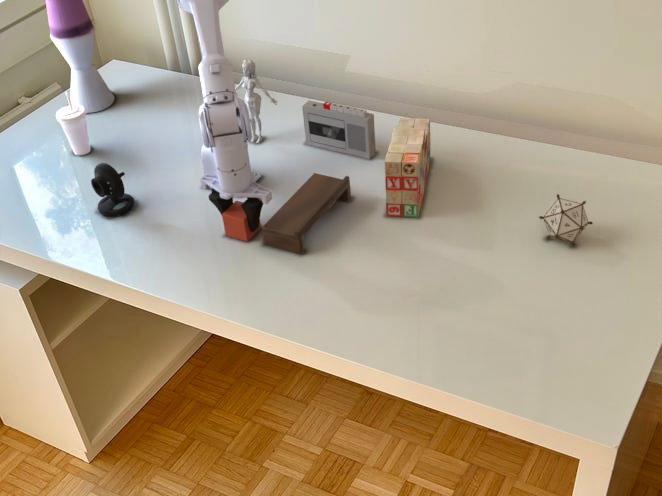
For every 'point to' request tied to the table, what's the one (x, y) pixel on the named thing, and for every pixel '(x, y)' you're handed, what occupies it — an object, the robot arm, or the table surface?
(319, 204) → the shelf
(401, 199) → the stack of blocks
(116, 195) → the webcam
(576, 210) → the game die
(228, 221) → the block
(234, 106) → the robot arm
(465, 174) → the table surface
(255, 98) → the human figurine
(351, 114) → the cassette player
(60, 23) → the lamp
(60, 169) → the table surface
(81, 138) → the smoothie
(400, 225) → the table surface
